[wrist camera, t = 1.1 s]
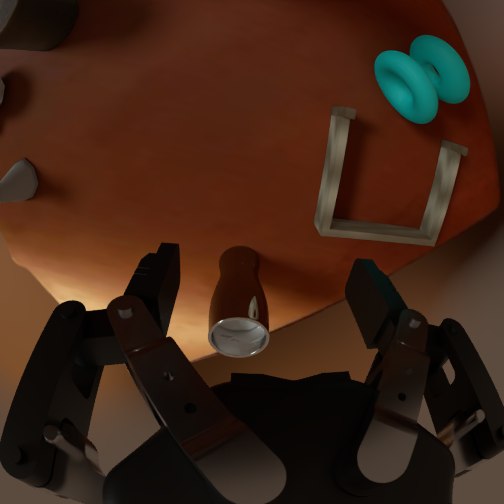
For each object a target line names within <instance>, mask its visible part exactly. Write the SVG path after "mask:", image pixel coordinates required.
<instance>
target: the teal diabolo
mask: <svg viewBox="0 0 504 504" xmlns="http://www.w3.org/2000/svg"><path fill="white" fill-rule="evenodd" d="M433 66H434V67H435V68H436V70H437V71H438V73H439V75H440V76H439V75H438V74H437V72H436V71H435V69H434V67H433ZM374 69H375V75H376V79H377V81H378V84H379V86H380V88H381V90H382V92H383V93H384V95H385V97H386V98H387V100H388V101H389V102H390V104H391V105H392V106H393V107H394V108H395V109H396V110H397V111H398V112H399V113H400V114H401V115H402V116H403V117H405V118H406V119H408V120H410V121H412V122H414V123H417V124H425V123H428V122H430V121H432V120H433V119H434V117H435V116H436V114H437V111H438V99H440V100H442V101H444V102H447V103H452V104H456V103H460V102H462V101H464V100H465V99H466V98H467V96H468V94H469V91H470V78H469V74H468V71H467V68H466V66H465V64H464V62H463V60H462V59H461V57H460V56H459V55H458V53H457V52H456V51H455V50H454V49H453V48H452V47H451V46H450V45H449V44H448V43H446V42H445V41H443V40H441V39H440V38H437V37H434V36H431V35H422V36H419V37H417V38H416V39H415V40H414V41H413V42H412V44H411V47H410V56H408V55H406V54H404V53H402V52H399V51H393V50H389V51H385V52H382V53H381V54H380V55H379V56H378V57H377V58H376V61H375V67H374Z"/></svg>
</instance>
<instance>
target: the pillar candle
mask: <svg viewBox="0 0 504 504" xmlns="http://www.w3.org/2000/svg"><path fill="white" fill-rule="evenodd" d="M77 16H78V4H77V2H76V0H0V49H16V50H30V51H46V50H49V49H51V48H53V47H55V46H57V45H58V44H59V43H61V42H62V41H63V40H64V39H65V37H66V36H67V35H68V34H69V33H70V31H71V29H72V28H73V26H74V23H75V21H76V19H77Z"/></svg>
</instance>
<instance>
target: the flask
mask: <svg viewBox="0 0 504 504" xmlns="http://www.w3.org/2000/svg"><path fill="white" fill-rule="evenodd" d="M38 184H39V183H38V180H37V177H36V173H35V169H34V167H33V166H32V165H31V164H30V163H29V162H28V161H27V160H26V159H25V158H24V159H22V160H20V161H19V162H17V163H15V164H14V166H13V167H12V168H11V169H10V170H9V172H8V173H7V174H6V175H5V176H4V178H3V179H2V180H1V181H0V203H4V202H12V201H25V200H27V199H29V198H32V197H34V194H35V191H36V189H37V186H38Z"/></svg>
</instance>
